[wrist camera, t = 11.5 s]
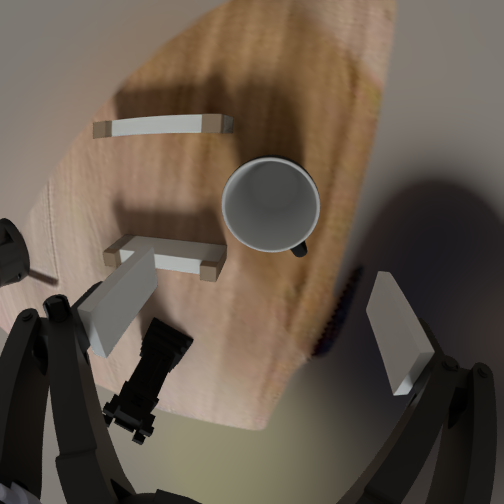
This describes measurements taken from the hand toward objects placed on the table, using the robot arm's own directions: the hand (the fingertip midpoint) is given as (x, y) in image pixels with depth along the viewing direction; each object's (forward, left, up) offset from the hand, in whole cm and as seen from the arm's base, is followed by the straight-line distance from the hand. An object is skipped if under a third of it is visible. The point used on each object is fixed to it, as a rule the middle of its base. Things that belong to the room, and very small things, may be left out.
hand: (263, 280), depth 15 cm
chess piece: (-17, -28, -21) cm, 39 cm away
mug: (+1, 0, -21) cm, 21 cm away
